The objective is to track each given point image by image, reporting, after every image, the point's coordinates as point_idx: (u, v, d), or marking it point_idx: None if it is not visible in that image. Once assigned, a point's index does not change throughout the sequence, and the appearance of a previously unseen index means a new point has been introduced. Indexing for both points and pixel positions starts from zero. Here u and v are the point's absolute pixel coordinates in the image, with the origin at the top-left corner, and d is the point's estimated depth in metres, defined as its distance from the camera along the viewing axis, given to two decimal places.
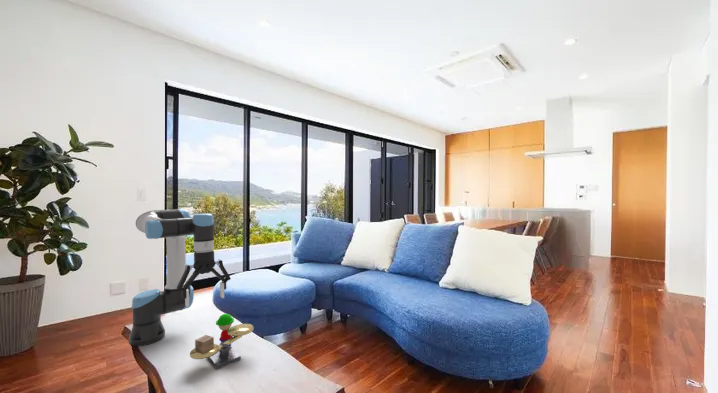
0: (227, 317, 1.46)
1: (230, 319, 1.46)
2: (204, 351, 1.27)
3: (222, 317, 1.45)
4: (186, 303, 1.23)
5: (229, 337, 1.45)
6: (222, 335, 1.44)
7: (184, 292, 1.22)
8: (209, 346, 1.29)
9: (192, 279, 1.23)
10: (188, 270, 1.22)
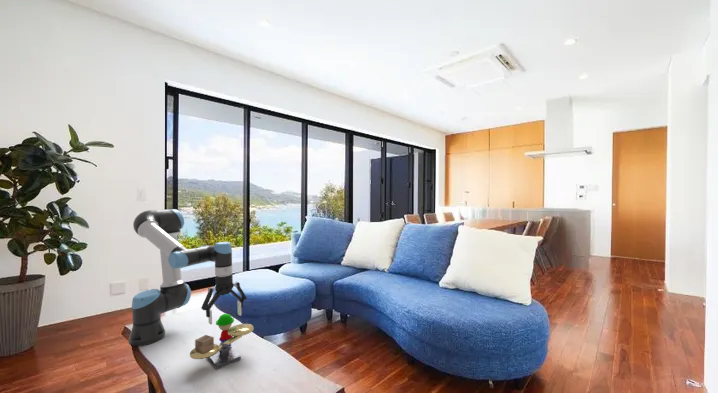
0: (227, 317, 1.46)
1: (230, 319, 1.46)
2: (204, 351, 1.27)
3: (222, 317, 1.45)
4: (209, 321, 1.42)
5: (229, 337, 1.45)
6: (222, 335, 1.44)
7: (208, 311, 1.41)
8: (209, 346, 1.29)
9: (214, 300, 1.43)
10: (211, 292, 1.42)
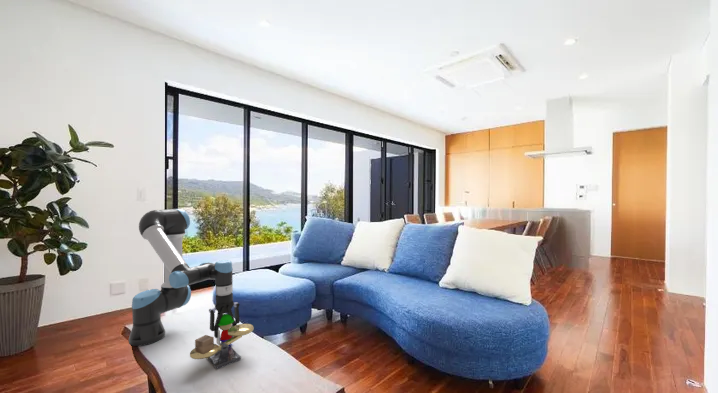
0: (227, 317, 1.46)
1: (230, 319, 1.46)
2: (204, 351, 1.27)
3: (222, 317, 1.45)
4: (217, 341, 1.44)
5: (229, 337, 1.45)
6: (222, 335, 1.44)
7: (216, 332, 1.44)
8: (209, 346, 1.29)
9: (219, 320, 1.44)
10: (213, 314, 1.42)
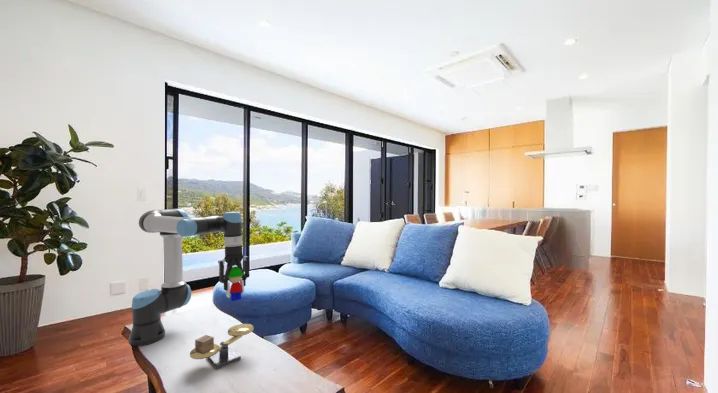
0: (237, 269, 1.41)
1: (240, 272, 1.41)
2: (204, 351, 1.27)
3: (232, 269, 1.40)
4: (227, 294, 1.39)
5: (239, 290, 1.40)
6: (232, 288, 1.39)
7: (225, 285, 1.39)
8: (209, 346, 1.29)
9: (228, 272, 1.39)
10: (222, 265, 1.37)
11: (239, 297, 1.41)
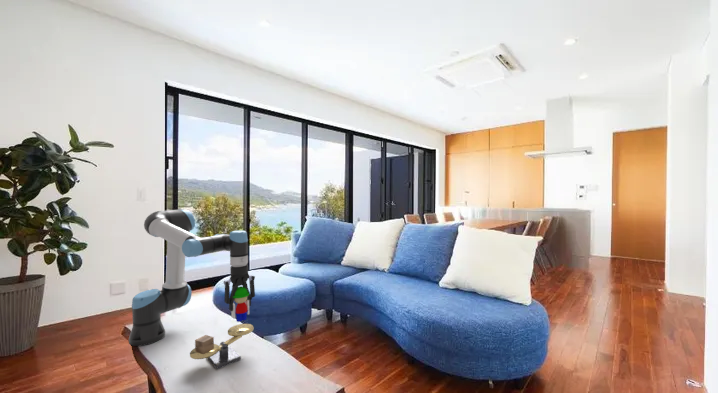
0: (243, 289, 1.38)
1: (246, 292, 1.39)
2: (204, 351, 1.27)
3: (237, 289, 1.38)
4: (232, 315, 1.37)
5: (245, 311, 1.38)
6: (237, 308, 1.37)
7: (231, 305, 1.37)
8: (209, 346, 1.29)
9: (234, 292, 1.37)
10: (228, 285, 1.35)
11: (244, 317, 1.39)
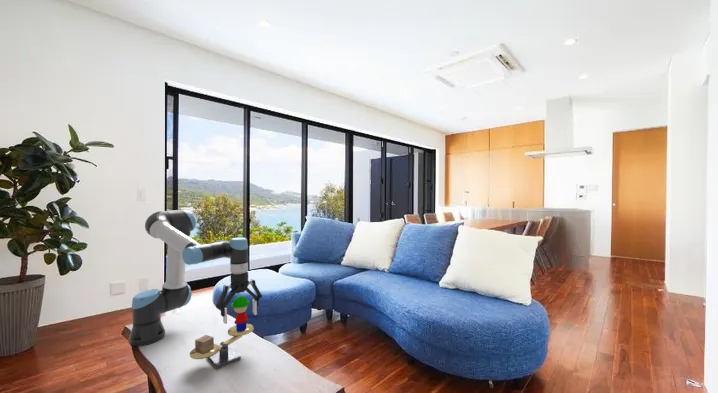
0: (243, 299, 1.39)
1: (246, 301, 1.39)
2: (204, 351, 1.27)
3: (237, 299, 1.38)
4: (224, 320, 1.35)
5: (245, 320, 1.38)
6: (237, 318, 1.37)
7: (223, 310, 1.34)
8: (209, 346, 1.29)
9: (229, 298, 1.36)
10: (226, 290, 1.35)
11: (244, 327, 1.40)
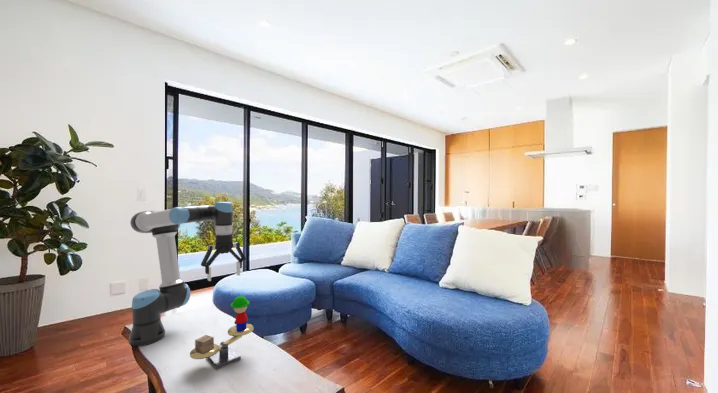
0: (242, 299, 1.38)
1: (246, 301, 1.39)
2: (204, 351, 1.27)
3: (237, 299, 1.38)
4: (208, 278, 1.43)
5: (245, 320, 1.38)
6: (237, 318, 1.37)
7: (207, 268, 1.42)
8: (209, 346, 1.29)
9: (214, 257, 1.44)
10: (211, 250, 1.43)
11: (244, 327, 1.40)
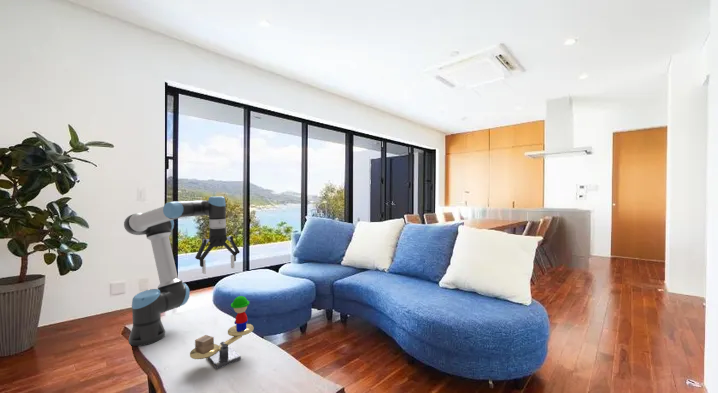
0: (242, 299, 1.39)
1: (246, 301, 1.39)
2: (204, 351, 1.27)
3: (237, 299, 1.38)
4: (203, 270, 1.46)
5: (245, 320, 1.38)
6: (237, 318, 1.37)
7: (201, 261, 1.46)
8: (209, 346, 1.29)
9: (208, 251, 1.47)
10: (205, 243, 1.46)
11: (244, 327, 1.40)
